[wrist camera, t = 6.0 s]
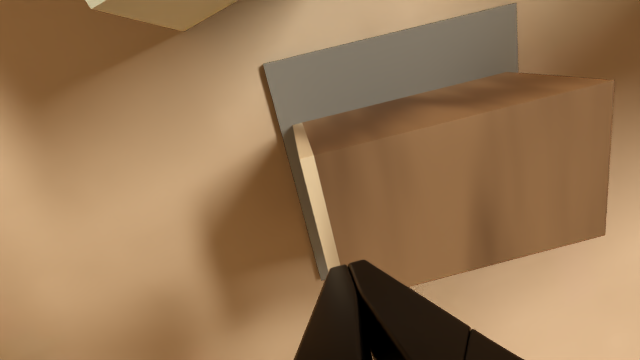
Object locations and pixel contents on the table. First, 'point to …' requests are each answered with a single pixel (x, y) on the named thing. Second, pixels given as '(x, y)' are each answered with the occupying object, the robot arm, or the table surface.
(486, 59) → the felt pad
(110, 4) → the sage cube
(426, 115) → the walnut block
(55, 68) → the table surface
